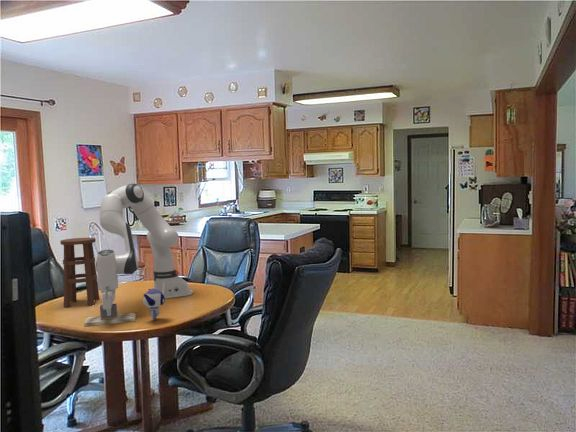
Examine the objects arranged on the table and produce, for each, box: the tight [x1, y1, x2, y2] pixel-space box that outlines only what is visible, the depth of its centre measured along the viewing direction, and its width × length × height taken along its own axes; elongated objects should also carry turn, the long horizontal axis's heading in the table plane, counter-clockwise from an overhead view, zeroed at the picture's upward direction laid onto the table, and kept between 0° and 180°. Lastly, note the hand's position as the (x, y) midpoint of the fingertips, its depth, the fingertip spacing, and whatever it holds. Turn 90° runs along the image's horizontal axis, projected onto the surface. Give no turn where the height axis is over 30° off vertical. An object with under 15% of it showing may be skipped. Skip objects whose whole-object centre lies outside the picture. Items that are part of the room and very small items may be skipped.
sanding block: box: [99, 303, 118, 319], centre depth 225 cm, size 7×4×6 cm, turn 105°
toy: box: [142, 288, 166, 321], centre depth 223 cm, size 11×10×15 cm
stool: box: [59, 237, 100, 309], centre depth 259 cm, size 20×35×20 cm
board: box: [83, 312, 137, 327], centre depth 225 cm, size 22×10×2 cm, turn 106°
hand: (109, 314), depth 225 cm, fingers closed on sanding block, 3 cm apart
